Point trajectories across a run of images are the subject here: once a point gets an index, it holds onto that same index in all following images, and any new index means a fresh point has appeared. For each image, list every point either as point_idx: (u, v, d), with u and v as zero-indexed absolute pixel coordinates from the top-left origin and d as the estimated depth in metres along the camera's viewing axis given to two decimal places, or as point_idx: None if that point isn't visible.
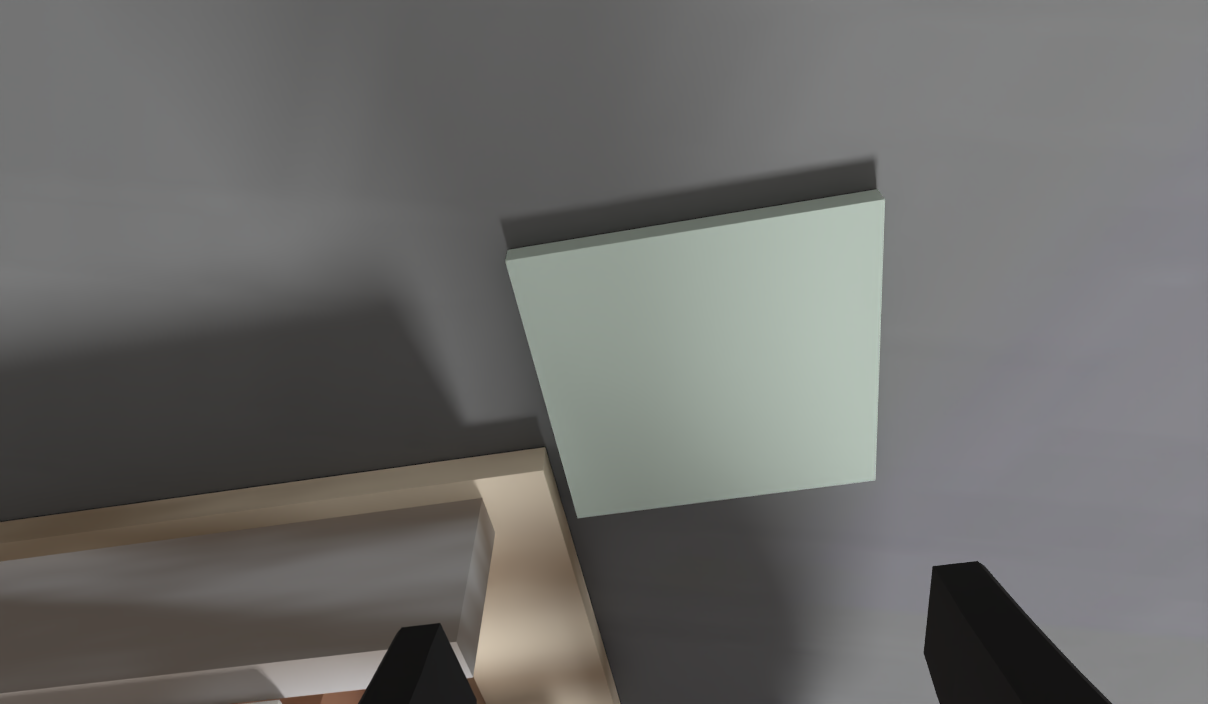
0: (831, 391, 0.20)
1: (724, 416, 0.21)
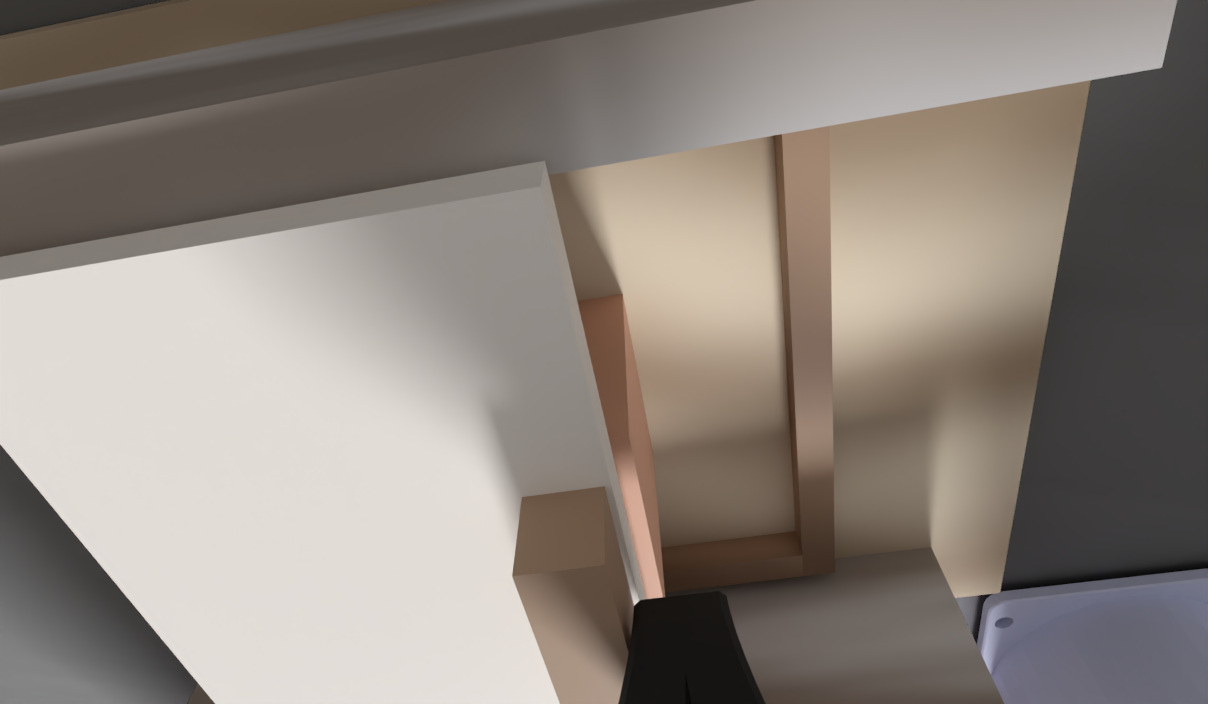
0: None
1: None
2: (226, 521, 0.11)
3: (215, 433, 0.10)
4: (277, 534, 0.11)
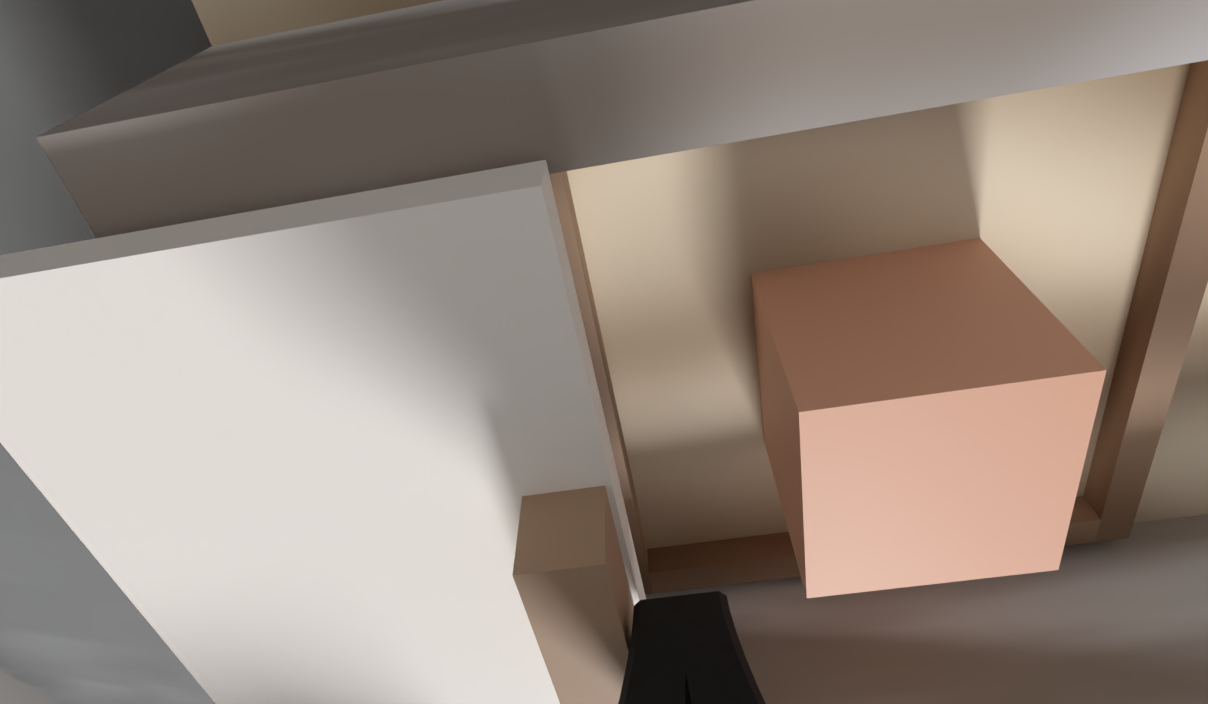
0: None
1: None
2: (226, 518, 0.11)
3: (215, 432, 0.10)
4: (278, 533, 0.11)
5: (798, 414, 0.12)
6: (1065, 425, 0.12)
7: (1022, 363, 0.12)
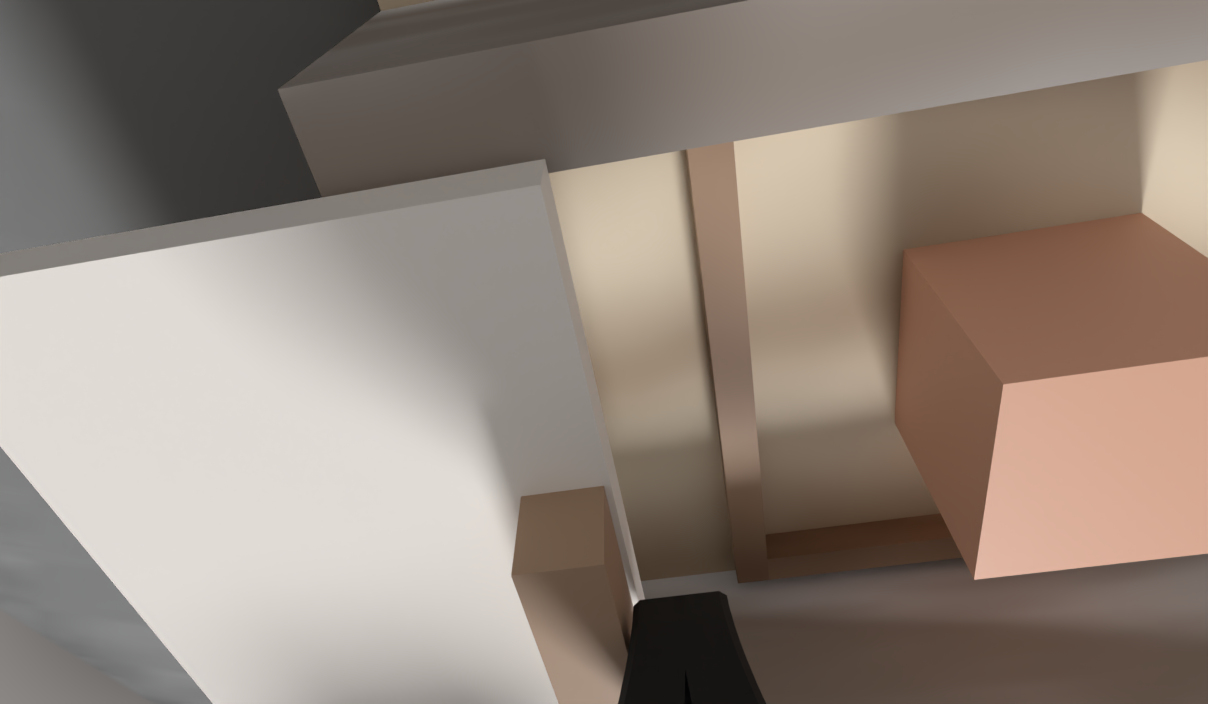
0: None
1: None
2: (224, 519, 0.11)
3: (213, 432, 0.10)
4: (275, 533, 0.11)
5: (1001, 386, 0.11)
6: None
7: None
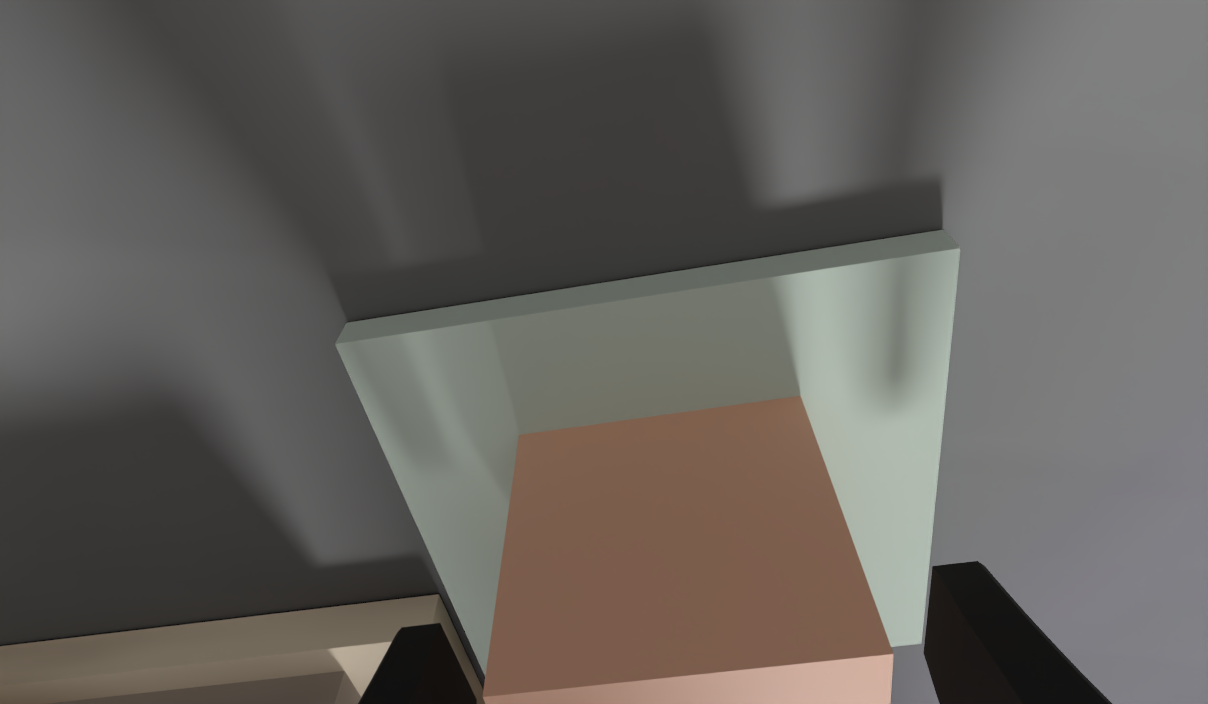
0: (861, 530, 0.13)
1: None
2: None
3: None
4: None
5: (485, 697, 0.08)
6: None
7: (789, 629, 0.08)
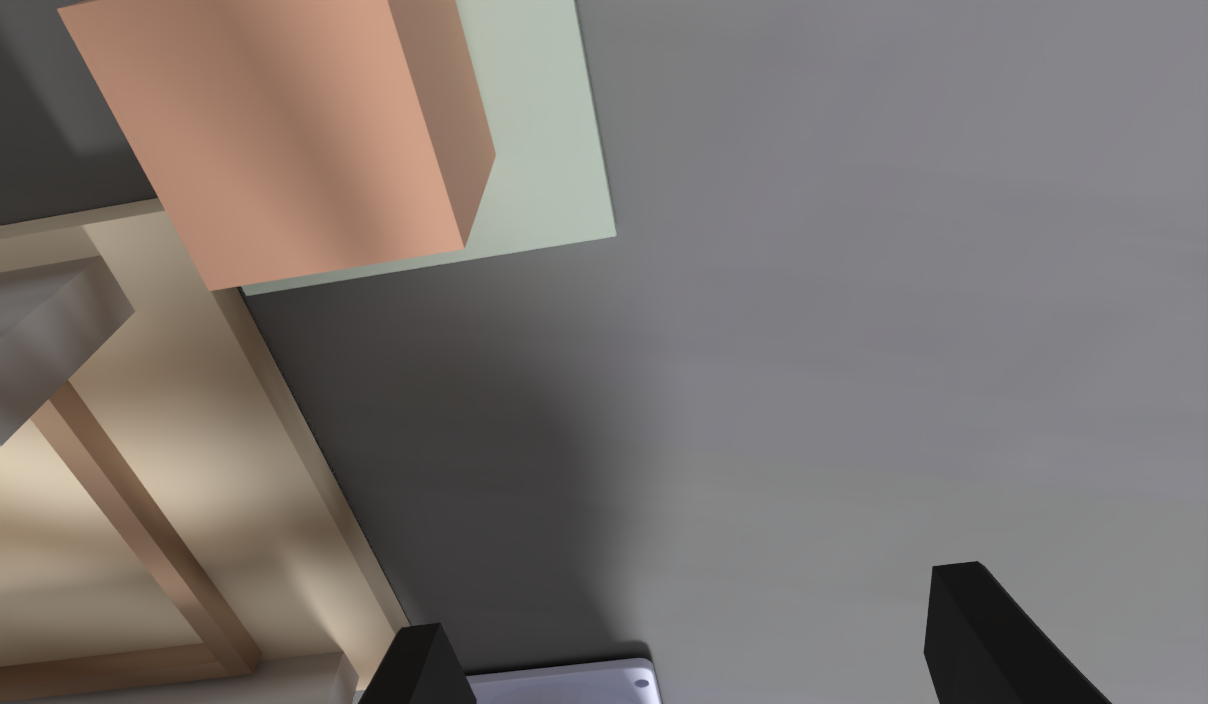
0: (526, 87, 0.15)
1: None
2: None
3: None
4: None
5: (62, 14, 0.10)
6: (366, 30, 0.10)
7: None
